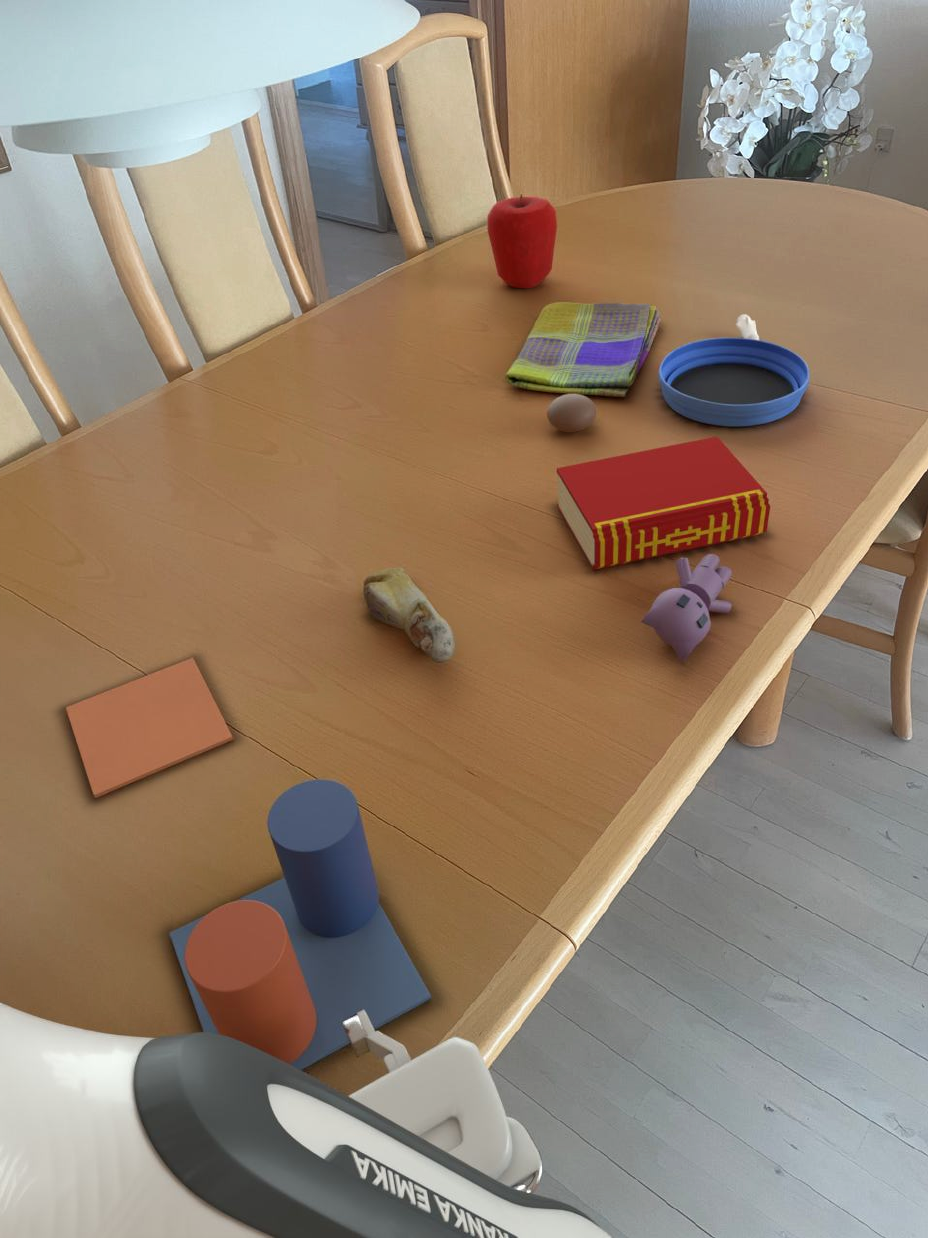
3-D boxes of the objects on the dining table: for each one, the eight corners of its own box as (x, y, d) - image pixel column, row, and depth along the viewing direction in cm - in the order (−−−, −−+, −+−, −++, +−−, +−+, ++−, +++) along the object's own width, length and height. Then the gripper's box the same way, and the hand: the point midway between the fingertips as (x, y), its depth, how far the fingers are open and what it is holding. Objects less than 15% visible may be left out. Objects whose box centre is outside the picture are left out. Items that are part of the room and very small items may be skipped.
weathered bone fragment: (343, 584, 96) (401, 655, 84) (385, 547, 96) (448, 614, 84) (373, 616, 99) (433, 689, 87) (413, 580, 99) (478, 649, 87)
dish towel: (498, 390, 129) (497, 371, 127) (545, 313, 146) (544, 295, 144) (630, 401, 124) (631, 380, 122) (662, 320, 141) (663, 301, 139)
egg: (567, 410, 123) (566, 381, 120) (605, 423, 120) (606, 393, 117) (537, 431, 120) (536, 401, 117) (576, 445, 117) (576, 414, 114)
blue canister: (314, 952, 68) (286, 867, 61) (284, 889, 72) (254, 802, 65) (392, 913, 70) (372, 825, 63) (358, 853, 74) (336, 765, 67)
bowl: (643, 422, 119) (644, 395, 117) (673, 356, 132) (675, 331, 130) (796, 438, 114) (801, 411, 111) (813, 368, 126) (817, 342, 124)
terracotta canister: (242, 1091, 61) (201, 1011, 54) (213, 1012, 65) (172, 929, 58) (330, 1042, 63) (301, 959, 56) (297, 968, 67) (266, 883, 60)
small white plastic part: (729, 349, 132) (731, 327, 130) (736, 330, 136) (738, 308, 134) (756, 351, 131) (759, 329, 129) (762, 332, 135) (765, 310, 133)
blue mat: (231, 1109, 60) (229, 1106, 60) (170, 935, 70) (168, 932, 70) (431, 999, 65) (430, 995, 65) (348, 850, 75) (347, 846, 74)
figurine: (706, 530, 91) (651, 603, 84) (757, 582, 91) (707, 659, 84) (670, 557, 95) (615, 628, 88) (719, 607, 96) (668, 682, 88)
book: (595, 575, 97) (596, 534, 94) (557, 507, 107) (556, 468, 104) (765, 538, 100) (771, 497, 96) (713, 475, 109) (716, 436, 106)
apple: (563, 270, 158) (562, 182, 149) (549, 295, 151) (547, 205, 142) (500, 268, 161) (495, 182, 152) (483, 293, 153) (477, 204, 145)
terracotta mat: (95, 798, 81) (93, 795, 80) (66, 710, 89) (65, 707, 89) (233, 739, 84) (232, 736, 84) (193, 660, 93) (192, 657, 92)
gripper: (558, 1162, 49) (432, 947, 58) (158, 1416, 42) (90, 1127, 52) (559, 1208, 53) (442, 1000, 62) (195, 1446, 46) (126, 1173, 56)
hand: (280, 1059), depth 57 cm, fingers open, 8 cm apart
